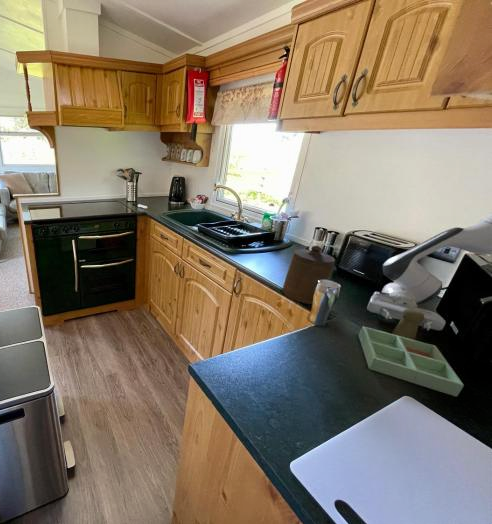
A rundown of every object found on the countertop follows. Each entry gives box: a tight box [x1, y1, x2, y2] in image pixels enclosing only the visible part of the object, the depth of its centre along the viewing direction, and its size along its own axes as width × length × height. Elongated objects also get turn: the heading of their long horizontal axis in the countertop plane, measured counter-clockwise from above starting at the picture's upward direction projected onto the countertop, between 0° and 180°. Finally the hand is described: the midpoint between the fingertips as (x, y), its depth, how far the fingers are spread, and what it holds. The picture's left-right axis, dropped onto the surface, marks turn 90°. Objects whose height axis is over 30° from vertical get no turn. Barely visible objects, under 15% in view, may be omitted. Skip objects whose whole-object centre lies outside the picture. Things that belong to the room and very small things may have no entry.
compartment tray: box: [358, 325, 465, 398], centre depth 83 cm, size 18×18×4 cm
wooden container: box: [282, 245, 336, 305], centre depth 117 cm, size 15×15×22 cm
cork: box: [390, 309, 424, 340], centre depth 93 cm, size 6×6×11 cm
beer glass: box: [306, 279, 342, 327], centre depth 99 cm, size 7×7×15 cm
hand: (407, 322), depth 94 cm, fingers open, 8 cm apart
